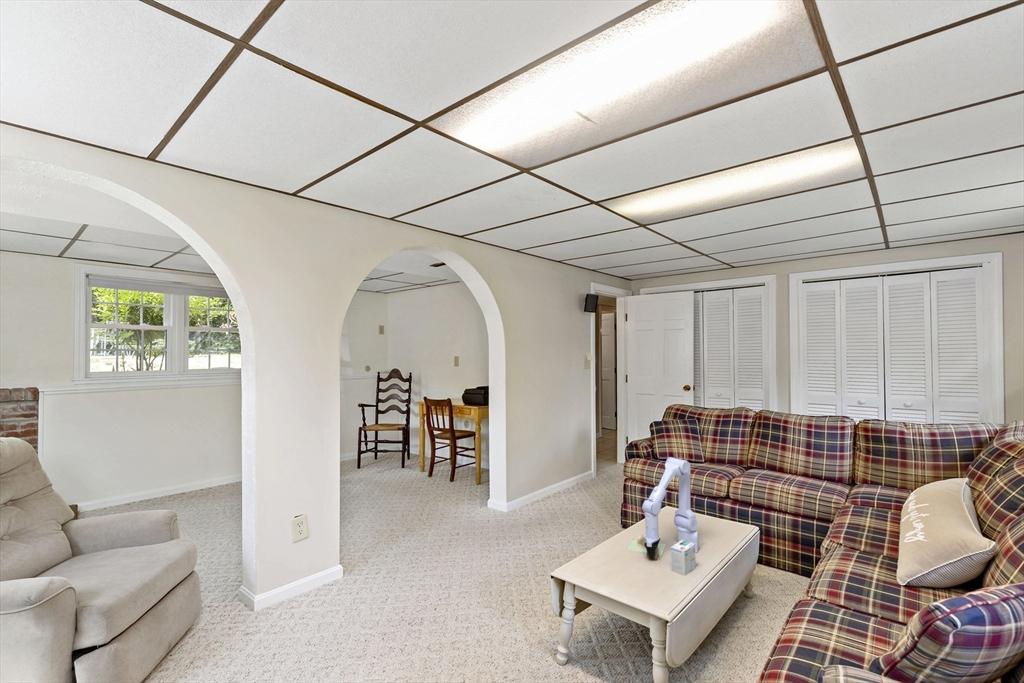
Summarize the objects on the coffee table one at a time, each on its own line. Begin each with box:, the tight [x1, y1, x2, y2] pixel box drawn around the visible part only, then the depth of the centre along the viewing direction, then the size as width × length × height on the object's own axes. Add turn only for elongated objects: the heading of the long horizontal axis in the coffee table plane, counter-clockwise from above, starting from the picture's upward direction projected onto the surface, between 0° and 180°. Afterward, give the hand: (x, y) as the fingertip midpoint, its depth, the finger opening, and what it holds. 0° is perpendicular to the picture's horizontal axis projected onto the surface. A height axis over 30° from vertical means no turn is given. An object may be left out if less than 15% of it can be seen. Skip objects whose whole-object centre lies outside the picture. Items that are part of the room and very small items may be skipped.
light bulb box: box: [670, 540, 697, 576], centre depth 209 cm, size 11×7×11 cm, turn 135°
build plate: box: [626, 538, 667, 556], centre depth 231 cm, size 16×14×1 cm
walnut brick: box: [646, 548, 660, 561], centre depth 219 cm, size 4×4×5 cm
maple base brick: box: [636, 534, 647, 548], centre depth 233 cm, size 6×6×4 cm
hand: (652, 556), depth 219 cm, fingers closed on walnut brick, 4 cm apart
